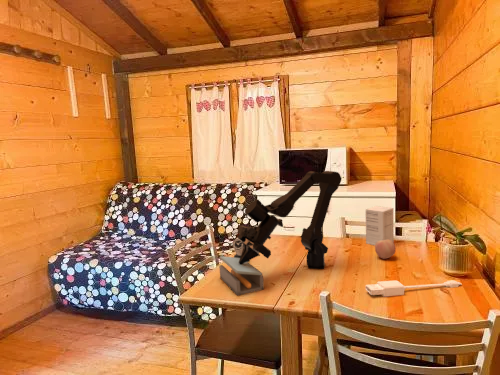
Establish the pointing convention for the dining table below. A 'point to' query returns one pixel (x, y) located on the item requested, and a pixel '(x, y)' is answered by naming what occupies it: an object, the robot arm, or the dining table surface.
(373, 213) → the supplement box
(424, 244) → the dining table surface
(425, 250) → the dining table surface
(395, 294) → the charging cable
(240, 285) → the cable duct
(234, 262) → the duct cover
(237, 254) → the watch
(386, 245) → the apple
